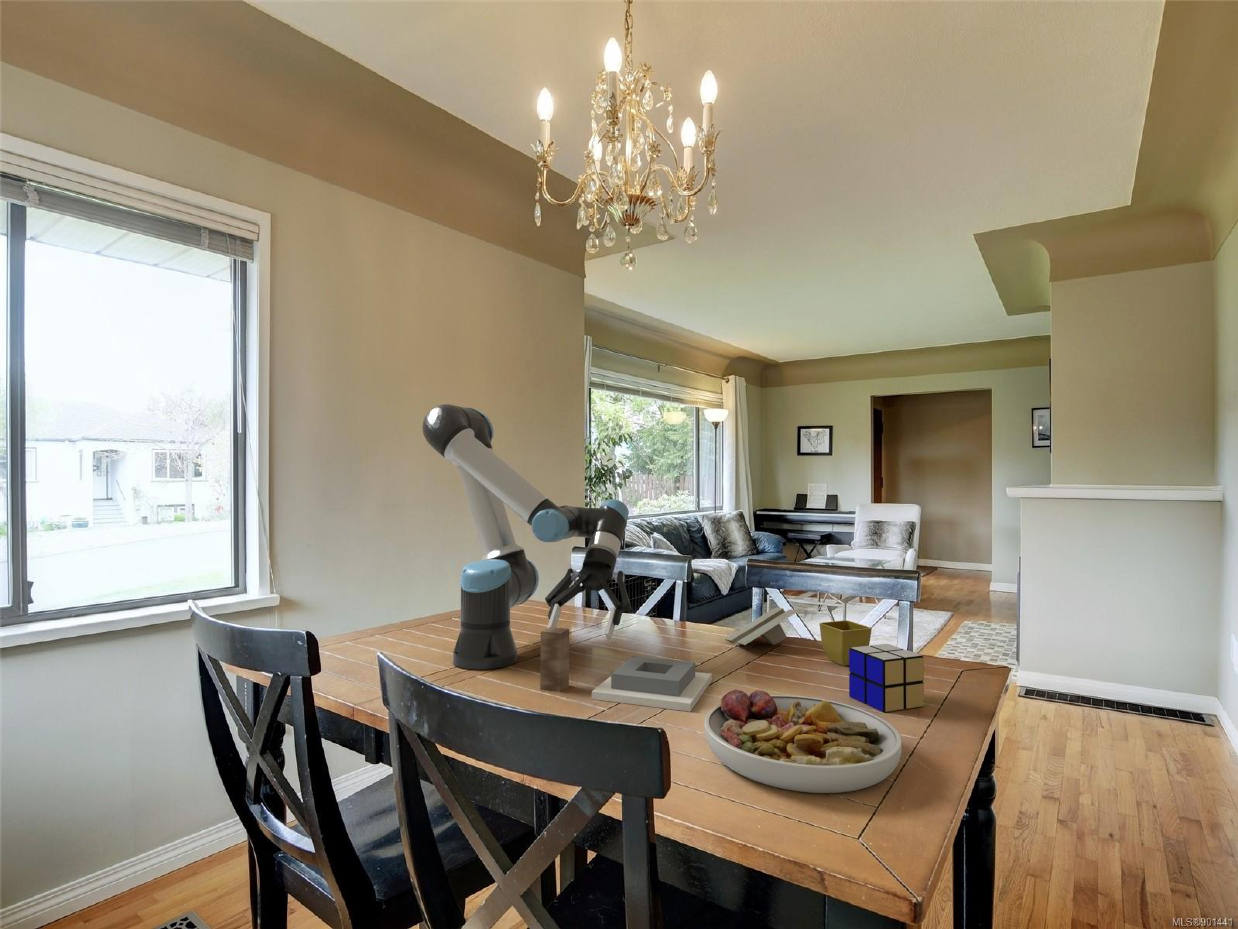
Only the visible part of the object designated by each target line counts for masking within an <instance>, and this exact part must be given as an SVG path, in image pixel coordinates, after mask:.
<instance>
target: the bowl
mask: <svg viewBox="0 0 1238 929" xmlns="http://www.w3.org/2000/svg"><path fill="white" fill-rule="evenodd" d="M704 735H705V739H706V742H707V744H708V746H709V749H711V751H712V752H713V753H714V755H715V757H717V758H718V760H719V761H720V762H722V763H723V764H724V765H725V766H727V767H728V768H729V769H731V770H732V771H734V772H736V773H737V774H739V775H741V776H742V777H746V778H747V779H749V780H752V781H755V782H757V783H760V784H762V785H763V784H764V785H766V786H769V787H773V788H778V789H782V790H786V791H787V790H788V791H794V792H800V793H809V794H810V793H813V794H832V793H833V794H839V793H846V792H854V791H859V790H862V789H865V788H868V787H871V786H874V785H876V784H878V783H880V782H882V781H884V780H885V779H886V778H888V777H889V776H890V775H891V774H892V773H893V772H894V771H895V769H896V768H897V766H898V765H899V762H900V760H901V757H902V751H903V748H902V747H903V744H902V743H903V741H902V737H901V734H900V733H899V731H898V730H897V728H895V727H894V726H893V725H892V724H891V723H889V722H888V721H887V720H885V719H884V718H882V717H879V715H876V714H874V713H872V712H869V711H868V710H864V709H862V708H859V707H856V706H853V705H851V704H847V703H843V702H838V701H833V700H830V699H824V698H818V697H812V696H811V697H810V696H802V695H788V694H770V693H768V692H767V691H764V690H754V691H752V692H751V693H749V694H747V692H745V691H743V690H739V689H733V690H731V691H728V692H727V693H726V694H724V695H723V696H722V697H721V699H720V704H717V705H716V706H715V707H713V708H711V709H710V710H709V711H708V712H707V713H706V716H705V718H704Z"/></svg>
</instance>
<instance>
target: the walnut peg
mask: <svg viewBox="0 0 1238 929" xmlns="http://www.w3.org/2000/svg"><path fill="white" fill-rule="evenodd" d="M539 666H540V670H539V671H540V680H539V681H540V682H539V683H540V684H539V686H540V687H539V688H540V691H542V690H543V691H549V692H557V693H560V692H562V691H564V690H565V689H566V688H568V687H569V686H570V628H567V627H557V626H556V627H549V628H547V627H546V628H545V629H543V630H541V631H540V665H539Z"/></svg>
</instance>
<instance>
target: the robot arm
mask: <svg viewBox="0 0 1238 929" xmlns="http://www.w3.org/2000/svg"><path fill="white" fill-rule="evenodd" d="M421 428H422V433H423V437H424V439H425V441H426V442H427V443H428V445H430V447H431V448H432V449H434V450H435V451H436V452H437V453H438V454H439V455H440V456H442V457H443V458H444V459H445V460H447V461H449V463H450V464H452V465H453V466H455V467H456V468H457V469H458V473H459V476H460V479H461V481H462V485H463V489H464V492H465V495H466V499H467V502H468V505H469V508H470V509H469V510H470V512H471V516H472V519H473V521H474V526H475V528H476V531H477V536H478V538H479V541H480V544H481V548H482V552H483V556H482V557H481V560H477V561H471V562H470V563H467V564H466V565H465V566H463V568H462V570H461V573H460V574H461V575H460V576H461V578H460V581H459V582H460V583H459V584H460V585H459V586H460V630H459V634H458V637H457V639H456V643H455V646H454V649H453V652H452V664H453V665H454V666H456V667H458V668H461V669H466V670H492V669H499V668H504V667H508V666H510V665H513V664H514V663H516V662H517V661H518V648H517V645H516V642H515V638H514V635H513V633H512V629H511V609H512V608H514V607H515V606H520V605H522V604H525V602H526V601H528V600H529V599H530V598H532V596H534V595H535V593H536V591H537V589H538V587H539V581H540V578H539V577H540V576H539V572H538V569H537V567H536V565H535V564H534V563H533V561H530V560H529V559H528V558H527V555H526V552H525V549H524V547H522V546H520V545H518V544H517V543H516V538H515V535H514V533H513V530H512V527H511V523H510V520H509V517H508V513H507V510H506V508H505V505H506V506H507V507H508V508H509V509H510V510H512V511H513V512H514V513H515V514H516V515H518V516H519V517H520V518H521V519H522V520H524V521H525V522H526V523H527V524H528V525H529V526H530V527H531V530H532V533H533V535H534V536H535V538H536V539H537V540H539V541H541V542H543V543H558V542H560V541H562V540H567V539H571V538H589V539H590V540H589V543H588V546H587V549H586V553H585V556H584V558H583V562H582V566H581V569H580V570H579V571H577V570H576V571H575V570H574V569H573V568H571V567H570V568H568V569H567V571H566V573H565V575H564V576H563V578H561V580H560V581H559V582H558V583H557V584H556V586H555V587H553V589H552V590H551V591H550V592H549V593H548V594H547V596H545V598H544V600H545V601H544V602H546V605H547V606H548V607H549V610H548V614H547V617H548V619H549V620H548V624H547V627H546V629H547V628H549V627H557V626H558V623H559V620H560V617H561V615H562V614H561V613H562V611H563V610H562V609H561V608H562V607H563V606H564V605H565V604H567V603H568V602H569V601H571V600H573V598H574V597H576V596H577V595H579V593H583V592H585V591H589V592H592V591H595V592H600V591H602V590H603V591H604V593H605V594H606V596H607V598H608V599H609V600H610V603H612V605H613V606H614V607H611V609H610V612H609V617H608V620H607V624H606V628H605V632H604V634H605V637H606V639H607V641H611V642H612V639H613V635H614V631H615V627H616V626H619V625H620V623H621V619H622V616H623V613H625V612H627V613H629V612H631V611H632V610H633V609H632V606H631V602H630V599H629V596H628V592H627V589H626V586H625V583H626V577H625V575H624V572H623V571H622V570H619V571H618V572H616V573H615V568H616V565H617V560H618V558H619V557H618V556H619V554H620V553H619V552H620V550H621V545H622V541H623V538H624V534H625V531H626V529H627V525H628V519H629V513H630V512H629V508H628V507H627V505H626V504H625V503H624V502H623V501H621V500H619V499H615V498H609V499H607V500H603V502H602V503H601V504H600V506H599V507H584V506H583V507H581V506H572V505H571V506H569V505H556V503H554V502H553V501H552V500H550V499H549V498H548V497H547V496H546V495H545V494H544V493H543V492H541V491H540V490H538V489H537V488H536V487H535V486H534V485H533V484H531V482H529V481H528V480H527V479H526V478H524V477H523V476H522V475H521V474H520V473H518V472H517V471H516V470H515V469H514V468H513V467H511V466H510V465H509V464H508V463H506V461H504V459H502V458H500V457H499V456H498V455H497V454H496V453H494V449H493V445H492V442H493V441H492V440H493V438H494V427H493V424H492V422H491V420H490V418H489V417H488V416H487V415H486V414H485V413H483V412H481V411H479V410H477V409H476V408H472V407H462V406H459V405H454V404H450V403H448V404H447V403H445V404H439V405H436V406H433V407H432V408H431V409H430V410H429V411H428V412H427V413H426V414H425V416H424V418H423V421H422V426H421ZM613 580H615V583H617V585H618V586H617V587H618V589H619V592H620V596H621V599H622V603H621V602H620V601H619V600H618V597H617V596H616V595H615V593H614V592H613V590H612V589H611V587H610V583H612V582H613Z"/></svg>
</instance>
